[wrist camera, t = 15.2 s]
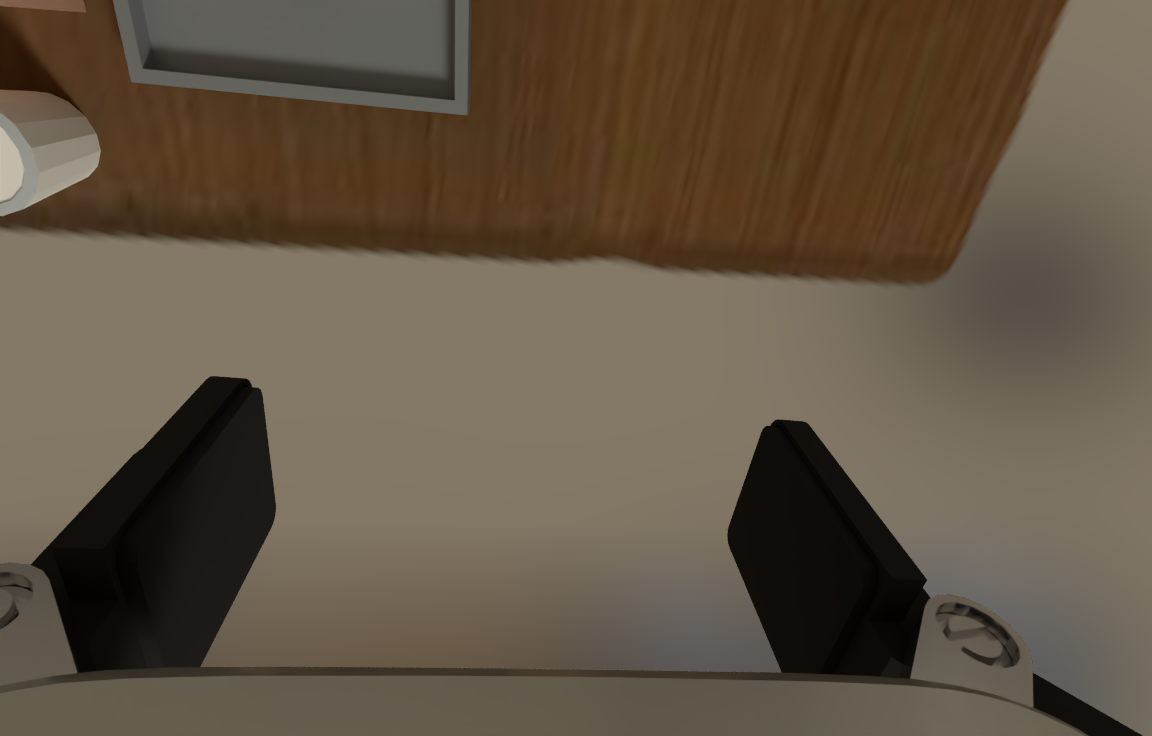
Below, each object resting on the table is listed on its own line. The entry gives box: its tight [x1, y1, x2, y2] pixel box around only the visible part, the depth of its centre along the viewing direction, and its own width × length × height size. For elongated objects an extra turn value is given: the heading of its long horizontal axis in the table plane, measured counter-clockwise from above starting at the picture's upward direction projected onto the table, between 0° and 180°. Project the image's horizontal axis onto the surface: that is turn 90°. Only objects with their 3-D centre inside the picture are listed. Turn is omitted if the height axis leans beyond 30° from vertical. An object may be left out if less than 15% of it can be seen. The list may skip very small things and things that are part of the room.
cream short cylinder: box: [0, 90, 101, 216], centre depth 36 cm, size 7×7×7 cm
